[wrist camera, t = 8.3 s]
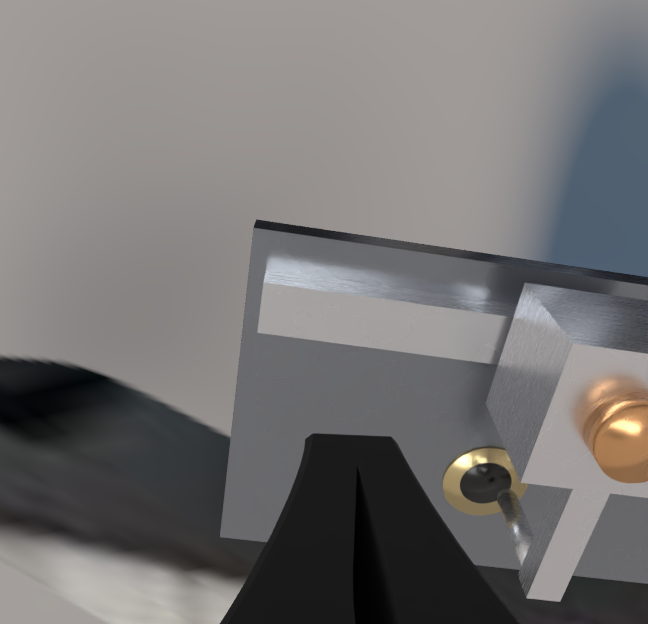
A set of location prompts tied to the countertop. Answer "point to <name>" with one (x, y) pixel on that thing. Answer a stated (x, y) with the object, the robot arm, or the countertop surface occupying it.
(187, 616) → the countertop surface
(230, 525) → the aluminium mounting plate
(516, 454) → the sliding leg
